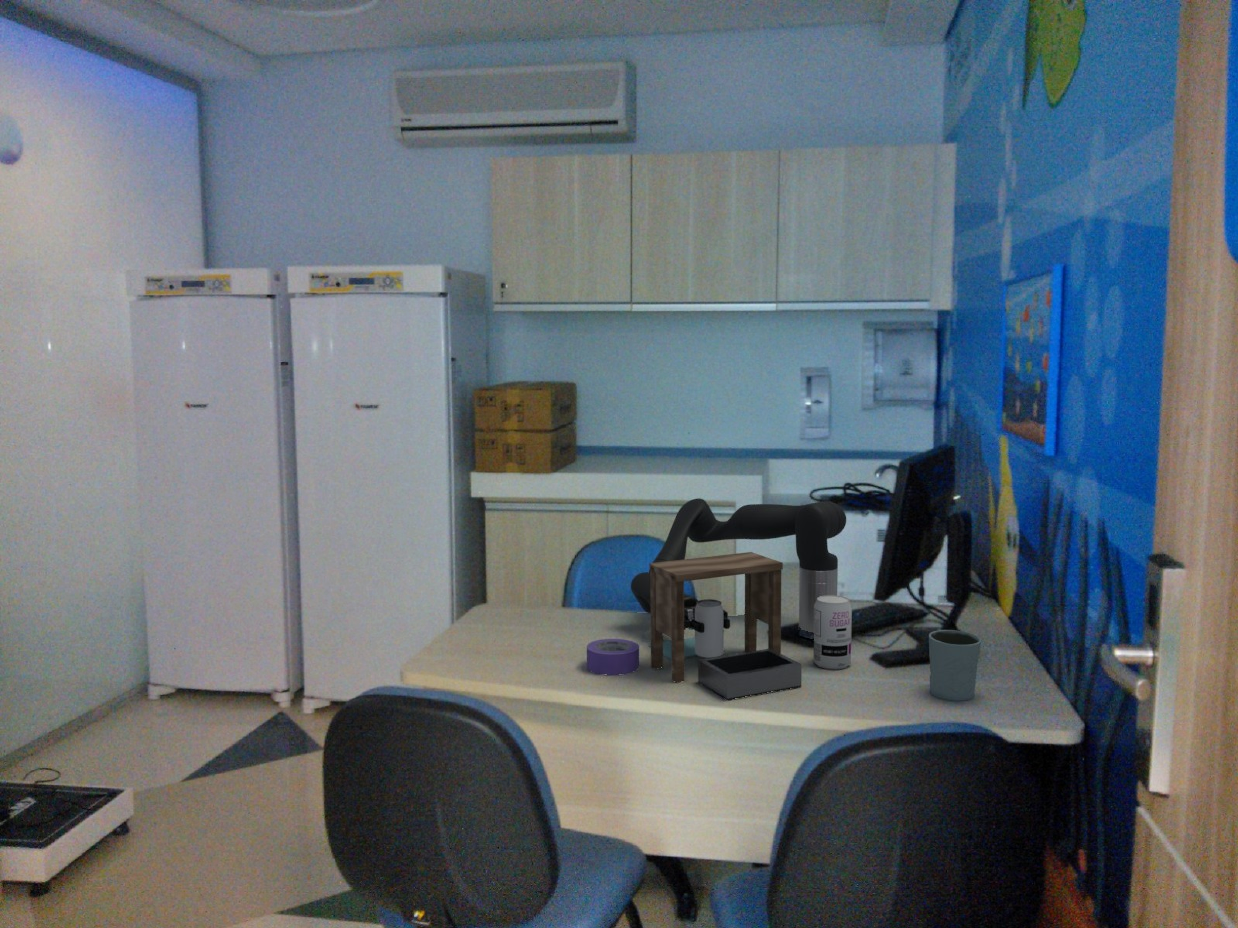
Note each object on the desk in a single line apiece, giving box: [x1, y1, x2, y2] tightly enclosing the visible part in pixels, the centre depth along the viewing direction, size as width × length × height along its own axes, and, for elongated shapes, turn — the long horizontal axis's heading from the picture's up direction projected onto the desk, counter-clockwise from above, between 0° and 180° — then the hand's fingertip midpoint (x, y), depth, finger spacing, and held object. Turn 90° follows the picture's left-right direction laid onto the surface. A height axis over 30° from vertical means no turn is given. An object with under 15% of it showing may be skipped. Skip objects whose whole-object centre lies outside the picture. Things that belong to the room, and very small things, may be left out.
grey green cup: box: [928, 629, 982, 702], centre depth 200 cm, size 10×10×12 cm
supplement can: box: [813, 595, 853, 670], centre depth 219 cm, size 8×8×15 cm
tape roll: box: [586, 638, 640, 676], centre depth 220 cm, size 12×12×5 cm
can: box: [694, 598, 725, 659], centre depth 221 cm, size 6×6×12 cm
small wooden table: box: [648, 551, 784, 684], centre depth 218 cm, size 13×26×24 cm, turn 115°
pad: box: [647, 636, 699, 661], centre depth 232 cm, size 12×14×1 cm
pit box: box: [697, 648, 803, 701], centre depth 207 cm, size 12×18×5 cm, turn 115°
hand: (715, 626), depth 219 cm, fingers closed on can, 6 cm apart
